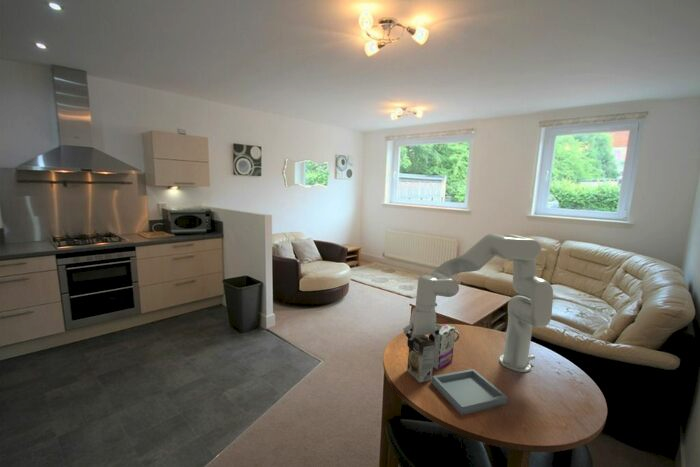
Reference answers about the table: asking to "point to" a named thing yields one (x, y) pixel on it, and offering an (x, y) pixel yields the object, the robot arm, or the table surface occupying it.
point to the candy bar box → (444, 347)
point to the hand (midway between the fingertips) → (420, 346)
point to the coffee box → (421, 358)
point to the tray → (468, 391)
